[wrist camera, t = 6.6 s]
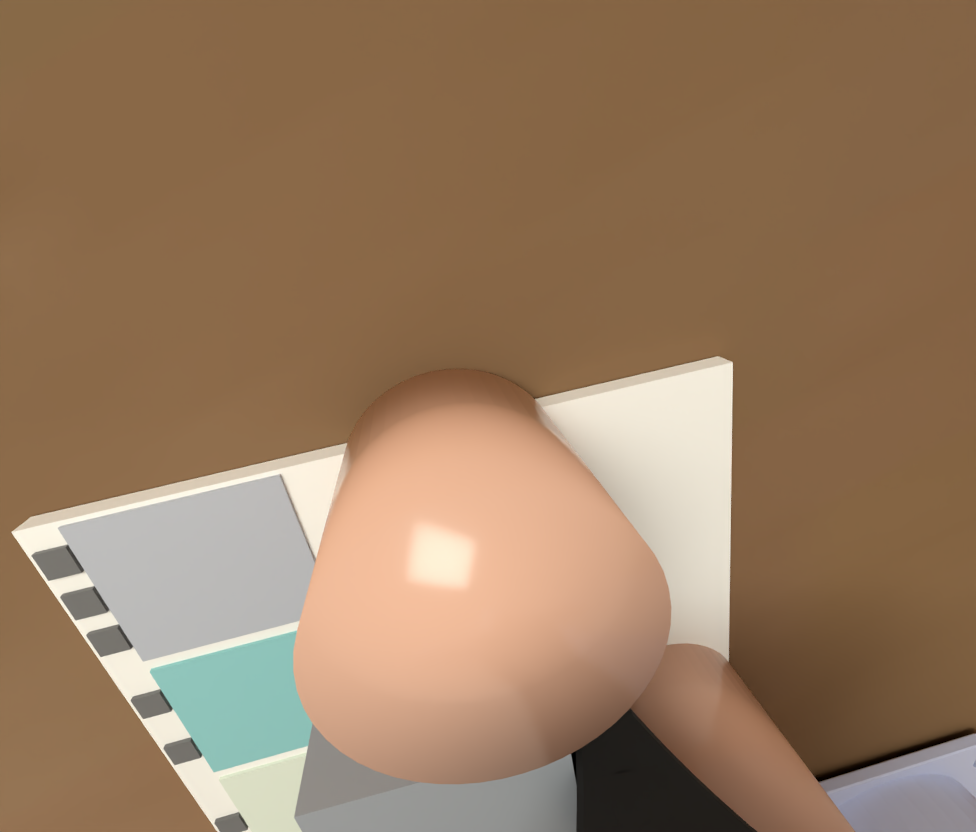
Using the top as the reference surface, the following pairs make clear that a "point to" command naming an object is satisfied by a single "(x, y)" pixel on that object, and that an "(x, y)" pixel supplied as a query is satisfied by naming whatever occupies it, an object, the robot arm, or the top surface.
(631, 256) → the top surface
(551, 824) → the matte grey cube
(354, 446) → the peach glossy domed part
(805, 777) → the peach rounded cylinder
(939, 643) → the top surface
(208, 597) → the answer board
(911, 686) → the top surface
